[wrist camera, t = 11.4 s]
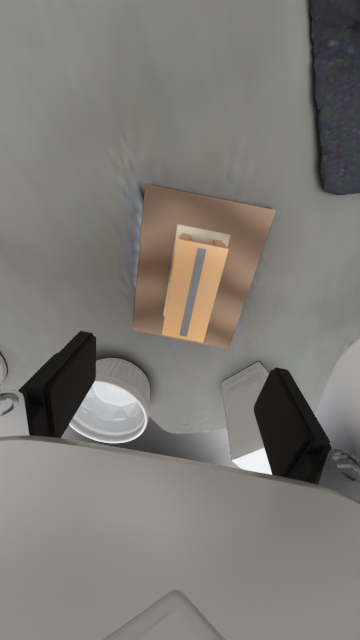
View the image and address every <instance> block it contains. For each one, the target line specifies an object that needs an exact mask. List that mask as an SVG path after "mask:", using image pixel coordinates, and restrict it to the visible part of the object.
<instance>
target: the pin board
mask: <svg viewBox="0 0 360 640" xmlns="http://www.w3.org/2000/svg"><path fill="white" fill-rule="evenodd" d="M275 213H276V210H273V209H268V208H263V207H258V206H253V205H248V204H243V203H238V202H233V201H228V200H223V199H218V198H213V197H209V196H204V195H199V194H194V193H189V192H184V191H179V190H174V189H169V188H164V187H159V186H154V185H149V184H145V194H144V206H143V217H142V228H141V239H140V251H139V262H138V273H137V285H136V296H135V307H134V318H133V331H138V332H143V333H148V334H154V335H159V336H164V337H169V338H174V339H179V340H184V341H189V342H194V343H199V344H205V345H210V346H215V347H220V348H225V349H229V347H230V344H231V341H232V338H233V335H234V332H235V329H236V326H237V323H238V320H239V318H240V315H241V312H242V309H243V306H244V303H245V300H246V297H247V294H248V291H249V288H250V286H251V283H252V280H253V277H254V274H255V271H256V268H257V265H258V262H259V259H260V257H261V254H262V251H263V248H264V245H265V242H266V239H267V236H268V233H269V230H270V227H271V225H272V222H273V219H274V216H275ZM182 233H186V234H190V235H191V237H190V240H194V241H199V242H204V243H209V244H213V239H215V240H220V241H223V242H224V244H225V245H226V246H227V248H228V249H229V250H228V254H227V257H226V261H225V265H224V268H223V272H222V276H221V279H220V283H219V287H218V290H217V294H216V298H215V301H214V305H213V309H212V312H211V316H210V320H209V323H208V327H207V331H206V334H205V338H204V341H203V343H202V342H196V341H191V340H186V339H181V338H176V337H171V336H166V335H162V330H163V324H164V318H165V312H166V306H167V300H168V294H169V287H170V281H171V275H172V269H173V263H174V257H175V251H176V245H177V239H178V238H179V236H180V235H181V234H182Z"/></svg>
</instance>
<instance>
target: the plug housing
mask: <svg viewBox="0 0 360 640" xmlns="http://www.w3.org/2000/svg"><path fill="white" fill-rule="evenodd" d="M190 237H191V235H190V234H186V233H182V234H181V235H180V236H179V238H178V239H177V245H176V251H175V257H174V263H173V269H172V275H171V281H170V287H169V294H168V300H167V306H166V312H165V318H164V324H163V330H162V335H166V336H171V337H176V338H181V339H186V340H191V341H196V342H202V343H203V341H204V338H205V334H206V331H207V327H208V323H209V320H210V316H211V312H212V309H213V305H214V301H215V298H216V294H217V290H218V287H219V283H220V279H221V276H222V272H223V268H224V265H225V261H226V257H227V254H228V250H229V249H228V248H227V246H226V245H225V244H224V242H223V241H220V240H215V239H213V244H209V243H204V242H199V241H194V240H190Z"/></svg>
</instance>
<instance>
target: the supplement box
mask: <svg viewBox="0 0 360 640" xmlns="http://www.w3.org/2000/svg"><path fill="white" fill-rule="evenodd" d="M268 375H269V373H268V371H267V370H266V369H265V368H264V367H263V366H262V365H261V363H260V362H257V363H255V364H253V365H251V366H249V367H247V368H246V369H244V370H242V371H240V372H238V373H237V374H235V375H233V376H231V377H230V378H228V379H226V380H224V381H223V382H222V383H221V386H222V394H223V401H224V408H225V416H226V423H227V430H228V438H229V445H230V453H231V460H232V461H233V462H234V463H235V464H236V465H238V466H239V467H240V468H241V469H243V470H248V471H254V472H259V473H265V474H270V475H272V472H271V469H270V465H269V462H268V458H267V455H266V452H265V448H264V445H263V441H262V438H261V434H260V431H259V428H258V424H257V421H256V417H255V414H254V405H255V402H256V400H257V398H258V396H259V394H260V392H261V390H262V388H263V386H264V383H265V381H266V379H267V377H268Z"/></svg>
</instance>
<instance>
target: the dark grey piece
mask: <svg viewBox="0 0 360 640" xmlns="http://www.w3.org/2000/svg"><path fill="white" fill-rule="evenodd" d="M310 15H311V17H312V18H313V19H312V24H311V33H312V36H311V37H312V40H313V41H314V42H313V49H312V51H313V55H314V58H315V59H314V64H313V67H314V69H315V100H316V103H317V110H318V111H319V115H318V127H319V132H320V147H321V153H322V159H321V177H322V181H323V185H324V188H325V191H326V192H328V193H333V194H336V195H345V194H350V193H352V194H354V193H360V0H310Z"/></svg>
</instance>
